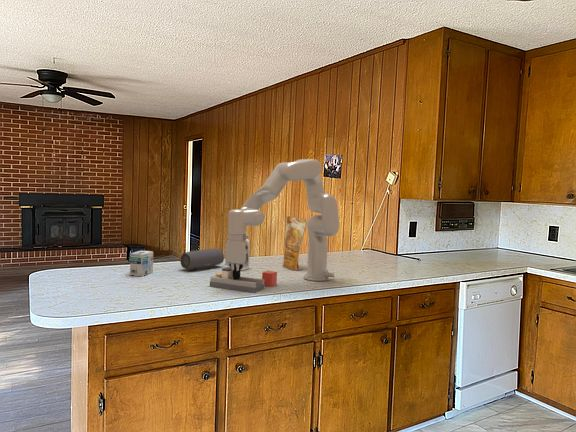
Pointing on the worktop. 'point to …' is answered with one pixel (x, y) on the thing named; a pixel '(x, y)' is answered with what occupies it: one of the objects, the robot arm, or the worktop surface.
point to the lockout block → (269, 278)
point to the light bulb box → (141, 263)
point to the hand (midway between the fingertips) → (236, 278)
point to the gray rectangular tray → (237, 283)
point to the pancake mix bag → (293, 241)
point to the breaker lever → (227, 273)
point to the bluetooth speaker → (201, 259)
